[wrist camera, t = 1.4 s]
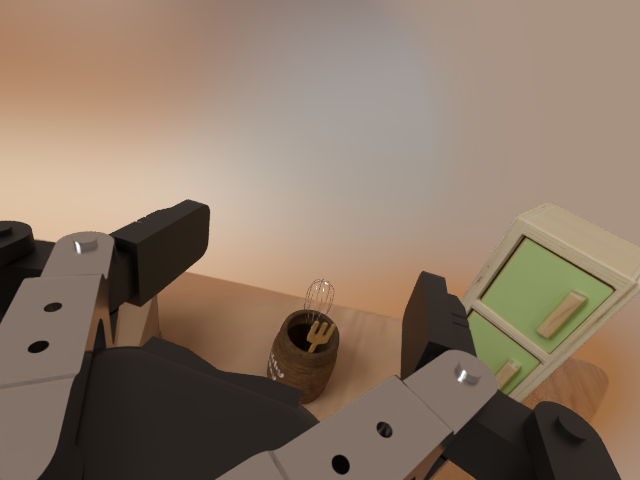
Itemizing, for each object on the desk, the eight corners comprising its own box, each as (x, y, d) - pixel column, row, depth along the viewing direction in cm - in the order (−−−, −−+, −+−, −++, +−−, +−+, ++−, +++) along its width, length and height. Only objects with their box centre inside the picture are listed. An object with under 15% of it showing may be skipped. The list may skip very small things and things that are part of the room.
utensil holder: (325, 354, 35) (358, 270, 28) (326, 414, 30) (366, 330, 23) (269, 346, 34) (290, 258, 28) (261, 406, 29) (283, 317, 22)
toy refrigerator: (400, 384, 34) (512, 215, 22) (438, 354, 39) (549, 199, 27) (465, 455, 30) (648, 292, 18) (500, 412, 34) (666, 258, 22)
